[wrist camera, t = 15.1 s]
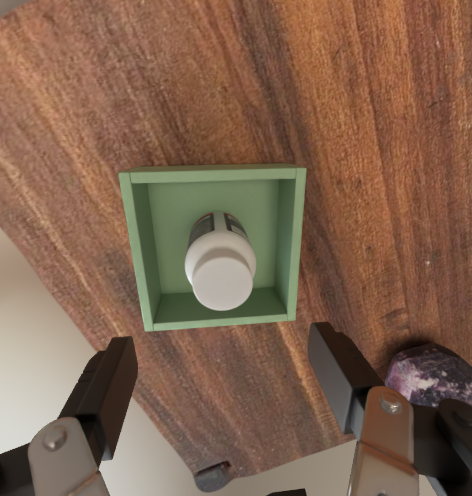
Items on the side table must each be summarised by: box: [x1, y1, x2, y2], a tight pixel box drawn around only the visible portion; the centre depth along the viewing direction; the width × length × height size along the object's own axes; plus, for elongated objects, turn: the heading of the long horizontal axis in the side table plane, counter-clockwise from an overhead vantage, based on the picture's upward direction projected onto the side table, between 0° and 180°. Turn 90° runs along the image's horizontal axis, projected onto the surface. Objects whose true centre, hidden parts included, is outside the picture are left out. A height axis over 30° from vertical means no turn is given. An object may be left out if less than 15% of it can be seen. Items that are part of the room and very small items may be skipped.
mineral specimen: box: [385, 343, 472, 408], centre depth 32 cm, size 10×10×10 cm
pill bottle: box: [185, 211, 256, 311], centre depth 22 cm, size 5×5×10 cm
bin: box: [118, 163, 307, 331], centre depth 24 cm, size 14×14×6 cm
